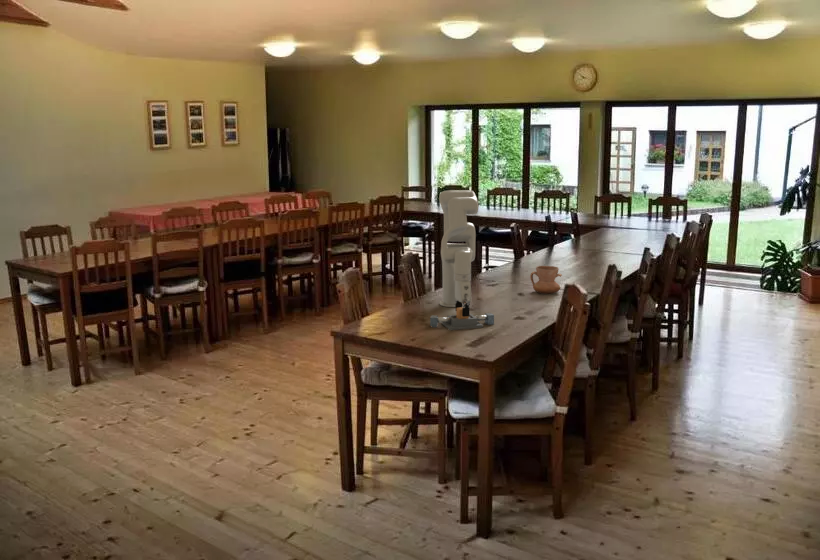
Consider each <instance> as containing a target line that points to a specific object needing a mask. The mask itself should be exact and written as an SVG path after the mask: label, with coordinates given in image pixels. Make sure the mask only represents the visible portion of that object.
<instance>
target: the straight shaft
mask: <svg viewBox="0 0 820 560" xmlns="http://www.w3.org/2000/svg"><path fill="white" fill-rule="evenodd" d="M474 316H475V317H476V318H477V321H478V322H481V321H484V324H486V325H488V326H491V325H492V326H493V325H495V314H493V313H492V312H488V313H484V314H483V315H482V314H481V315H480V314H479V315H474Z"/></svg>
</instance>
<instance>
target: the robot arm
mask: <svg viewBox="0 0 820 560" xmlns="http://www.w3.org/2000/svg"><path fill="white" fill-rule="evenodd" d="M438 198H439V204H440V207H441V209H442V213H443V236H442V239H441V243H440V244H441V245H440V246H441V247H440V257H441V265H442V271H441V272H442V273H441V274H442V300H440V301H439V305H440V306H441V307H445V308H446V307H447V308H455V310H454V311H455V312H456V308H460V307H463V308H462V316H463V317H465V316H469V314H470V308H471V307H470V305H471V303H472V287H471V281H472V262H474V261H475V258H476V237H477V235H476V227H475V225H474V223H472V222H469V221H468V219H467V217H468V216H469V215H474V216H475V215H477V214H478V212H479V201H478V197H477V195H476V193H475V192H474V190H470V189H469V190H468V189H467V190H466V189H465V190H464V189H462V190H461V189H459V190H457V189H456V190H455V189H450V190H444V191H441V192H440V193H439V197H438ZM448 242H465V243H448Z"/></svg>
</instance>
